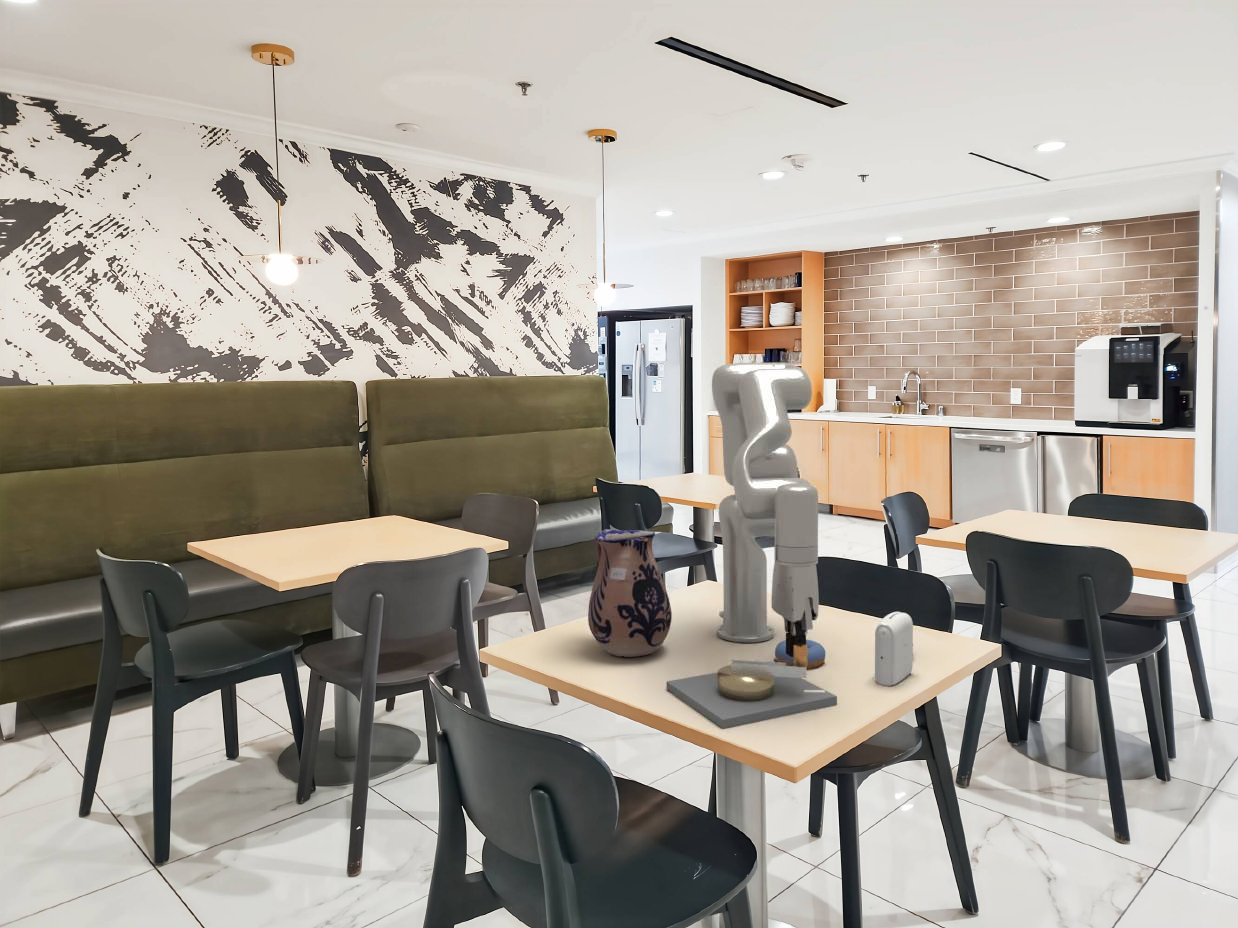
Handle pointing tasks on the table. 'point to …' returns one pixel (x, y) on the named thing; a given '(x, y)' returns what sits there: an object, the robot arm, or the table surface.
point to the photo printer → (893, 648)
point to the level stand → (734, 712)
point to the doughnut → (814, 653)
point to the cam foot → (759, 675)
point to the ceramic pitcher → (628, 595)
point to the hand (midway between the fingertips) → (795, 654)
